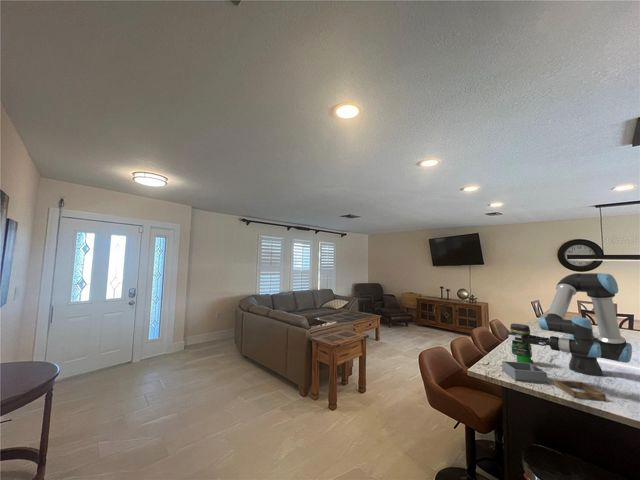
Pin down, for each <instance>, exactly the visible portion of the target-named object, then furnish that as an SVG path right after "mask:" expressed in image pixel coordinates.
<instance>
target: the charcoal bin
mask: <svg viewBox="0 0 640 480" xmlns="http://www.w3.org/2000/svg"><path fill="white" fill-rule="evenodd" d="M501 369H502V370H501V371H502V372H504V373H505V374H506V375H508V376H509V377H510V378H511V379H513V380H514V381H515V382H527V383H536V384H548V373H547V372H546V370H545V371H544V370H543V369H541V368H540V367H537V366H536V365H534V363H533V364H531V363H522V362H517V361H507V360H501Z"/></svg>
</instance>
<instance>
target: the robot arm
mask: <svg viewBox="0 0 640 480" xmlns="http://www.w3.org/2000/svg"><path fill="white" fill-rule="evenodd" d="M555 290H556V293H555V294H554V297H553V299H552V301H551V304H550V307H549V309H548V310H547V311H548V312H547V314H546V315H545V316H540V317H539V318H538V322H537V323H538V324H537V325H538V326H539V328H540V329H541V330H543V331H548V332H554V333H561V334H567V335H569V338H568V337H567V338H566V337H559V336H554V335H550V337H545V336H539V335H533V334H530V335H529V338H523V336H521V337H520V336H514V335H512V334H508V340H511V341H512V340H515V341H521V342H522V343H528V344H530V345H536V346H542V347H547V346H549V348H550V350H552V351H556V352H557V351H558V352H562V353H566V354H568V355H569V354H570V355H571V358H570V359H569V364H568V368H569V369H570V371H573V372H576V373H578V374H583V375H589V376H596V377H599V376H603V375H604V374H603V370H602V368H601V365H600V364H599V362H598V359H604V360H609V361H614V362H619V363H625V364H626V363H630V361H631V360H632V354H633V345H632V344H631V343H630V342H627V341H626V338H624V337H623V336H622V335H621V331H620V326H619V323H618V319H617V318H618V317H617V315H616V314H617V313H616V308H615V306H614V300H613V298H614V297H616V294H618V293H619V284H618V282H617V280H616V278H615V277H614V276H613V275H612V274H610V273H603V272H602V273H601V272H595V273H594V272H590V273H589V272H588V273H586V272H585V273H583V272H581V273H579V272H577V273H571V274H568V275H566V276H564V277H563V278H561V279H560V280H559V281H558V283H557V284H556V287H555ZM577 292H579V293H580V292H581V293H586V297H588V298H591V303H592V307H593V310H594V316H595V320H596V324H597V329H598V332H599V335H597V336H596V337H595V335H594V333H593V331H594V330H593V325H592V321H591V319H589V318H586V317H579V316H573V317H571V318H570V319H565V318H566V314H567V312H568V309H569V307H570V304H571V301H572V299H573V296H575V295H577ZM524 340H525V341H524Z"/></svg>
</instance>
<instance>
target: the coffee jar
mask: <svg viewBox="0 0 640 480" xmlns="http://www.w3.org/2000/svg"><path fill="white" fill-rule="evenodd" d="M509 331H510V333H511V335H514V336H520V337H521V336H523V338H529V335H531V329H530V326H529V325H527V324H521V323H511V324H510V329H509ZM524 341H525V340H524ZM531 348H532V344H528V343H522V342H521V341H515V340H511V353H512V354H513V355H515V356H516V357H517V356H522V357H531V358H532V357H533V352H532V351H533V350H532V349H531Z"/></svg>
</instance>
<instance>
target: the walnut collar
mask: <svg viewBox="0 0 640 480" xmlns="http://www.w3.org/2000/svg"><path fill="white" fill-rule="evenodd" d="M553 383H554V386H555V387H556V388H558V389H560V390H561V391H563V392H565V393H566V394H568V395H569V396H571V397H573V398H574V399H579V400H580V399H584V400H591V401H601V402H606V401H607V397H606V394H605V393H603V392H602V391H600V390H597V389H595V388H593V387H592V386H590V385H588V384H586V383H584V382H582V381H574V380H573V381H572V380H563V379H562V380H561V379H554V380H553ZM573 388H574V389H581V390H584V391H580V390H574V389H573Z"/></svg>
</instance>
